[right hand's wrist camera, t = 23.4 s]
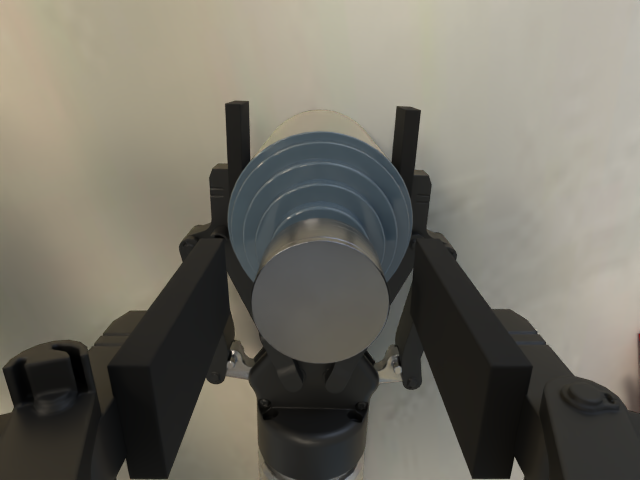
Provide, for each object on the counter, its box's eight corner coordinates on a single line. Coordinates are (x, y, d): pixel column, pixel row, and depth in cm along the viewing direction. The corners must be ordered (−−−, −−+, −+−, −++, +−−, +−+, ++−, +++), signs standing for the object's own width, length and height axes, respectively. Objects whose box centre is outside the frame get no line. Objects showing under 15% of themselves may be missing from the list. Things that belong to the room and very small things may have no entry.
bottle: (250, 120, 29) (149, 186, 12) (371, 100, 29) (449, 137, 11) (274, 233, 32) (220, 419, 15) (384, 216, 32) (463, 388, 14)
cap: (402, 291, 15) (414, 324, 13) (302, 346, 16) (300, 384, 14) (340, 193, 14) (343, 213, 12) (235, 258, 14) (222, 286, 12)
